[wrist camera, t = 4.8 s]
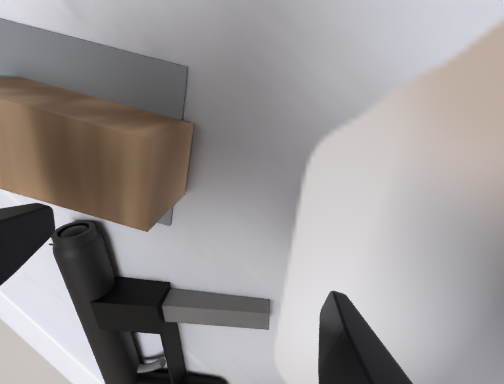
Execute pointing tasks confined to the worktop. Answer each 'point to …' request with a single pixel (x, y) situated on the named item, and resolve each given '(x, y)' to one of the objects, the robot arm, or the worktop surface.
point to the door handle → (139, 310)
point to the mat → (93, 71)
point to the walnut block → (91, 153)
